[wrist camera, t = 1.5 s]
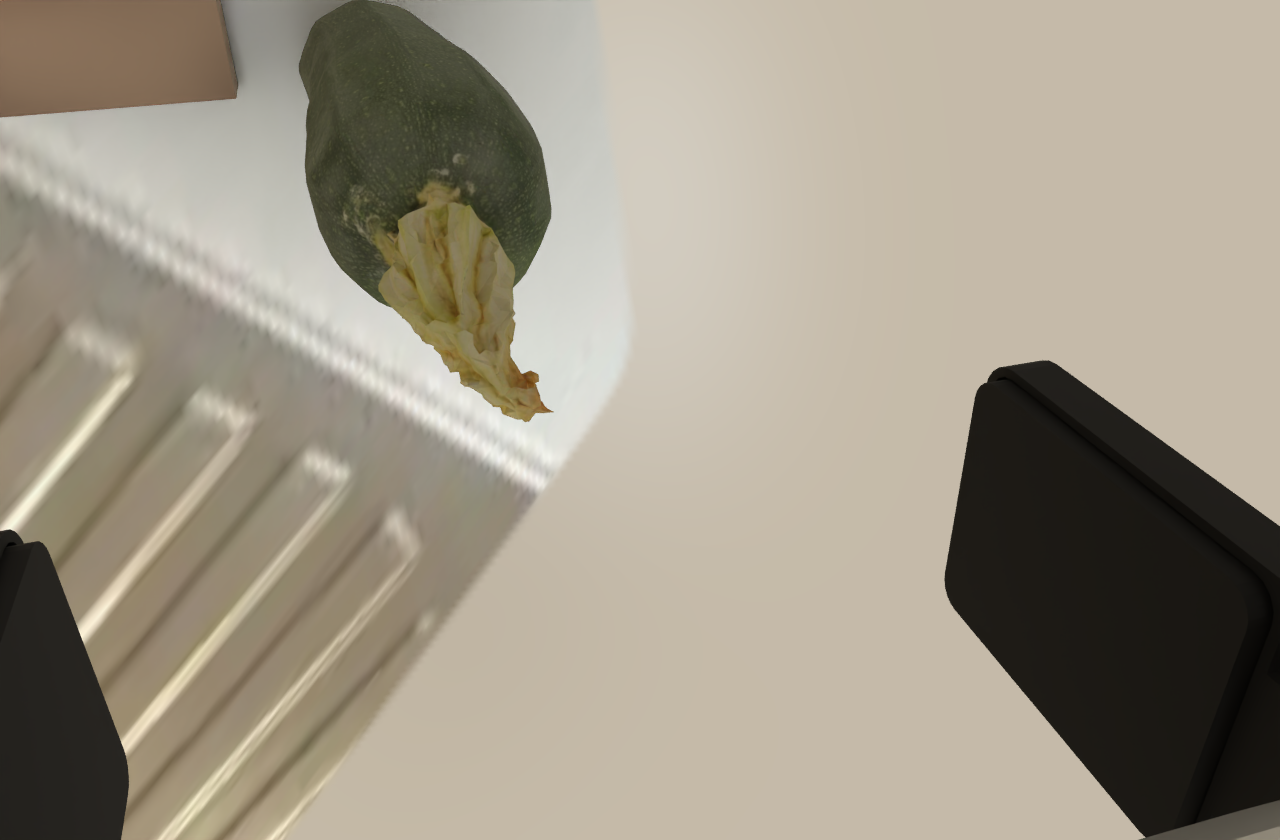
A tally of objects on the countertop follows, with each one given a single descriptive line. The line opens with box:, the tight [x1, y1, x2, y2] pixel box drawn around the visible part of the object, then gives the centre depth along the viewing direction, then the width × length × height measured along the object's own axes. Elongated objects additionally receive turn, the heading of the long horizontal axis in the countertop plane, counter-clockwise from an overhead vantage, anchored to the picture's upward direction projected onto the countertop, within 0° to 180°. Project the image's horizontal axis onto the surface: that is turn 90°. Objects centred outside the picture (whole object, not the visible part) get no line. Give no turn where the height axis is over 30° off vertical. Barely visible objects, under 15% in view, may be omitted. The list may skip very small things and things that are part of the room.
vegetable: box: [299, 0, 553, 422], centre depth 22 cm, size 4×4×20 cm
